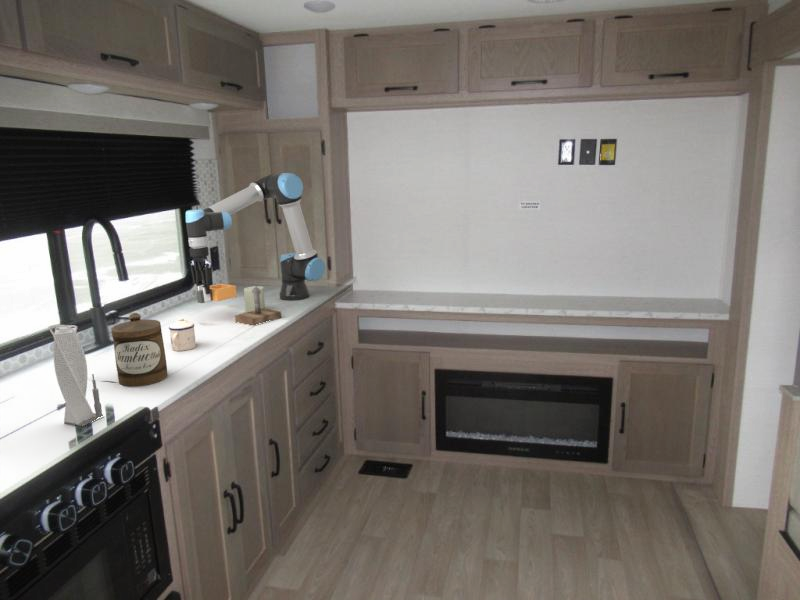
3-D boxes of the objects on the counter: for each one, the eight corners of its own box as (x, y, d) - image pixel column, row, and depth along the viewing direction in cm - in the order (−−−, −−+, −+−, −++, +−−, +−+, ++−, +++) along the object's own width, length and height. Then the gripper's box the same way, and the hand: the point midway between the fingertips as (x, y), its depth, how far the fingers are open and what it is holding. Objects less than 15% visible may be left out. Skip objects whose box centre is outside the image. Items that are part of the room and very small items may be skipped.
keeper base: (263, 314, 274) (261, 283, 270) (281, 317, 266) (278, 285, 263) (235, 322, 261) (232, 289, 258) (253, 326, 254) (250, 292, 251)
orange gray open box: (222, 294, 269) (221, 283, 267) (236, 296, 263) (235, 285, 261) (192, 301, 257) (191, 290, 255) (206, 304, 251) (205, 292, 250)
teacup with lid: (177, 344, 231) (174, 315, 228) (200, 344, 230) (197, 315, 227) (163, 354, 219) (160, 323, 216) (187, 353, 218) (184, 323, 216)
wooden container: (115, 389, 185) (105, 321, 180) (122, 374, 199) (113, 310, 194) (165, 383, 189) (157, 316, 184) (169, 368, 203) (161, 306, 198)
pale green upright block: (268, 309, 282) (266, 285, 280) (262, 314, 274) (259, 289, 271) (249, 309, 283) (247, 285, 281) (242, 314, 275) (240, 289, 272)
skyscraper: (78, 429, 157) (61, 327, 150) (56, 425, 160) (39, 324, 153) (104, 416, 164) (89, 318, 158) (83, 412, 167) (67, 316, 161)
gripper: (179, 246, 252) (186, 300, 258) (202, 249, 243) (208, 304, 248) (195, 244, 258) (201, 297, 263) (217, 246, 248) (223, 301, 254)
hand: (205, 300), depth 256 cm, fingers closed on orange gray open box, 3 cm apart
